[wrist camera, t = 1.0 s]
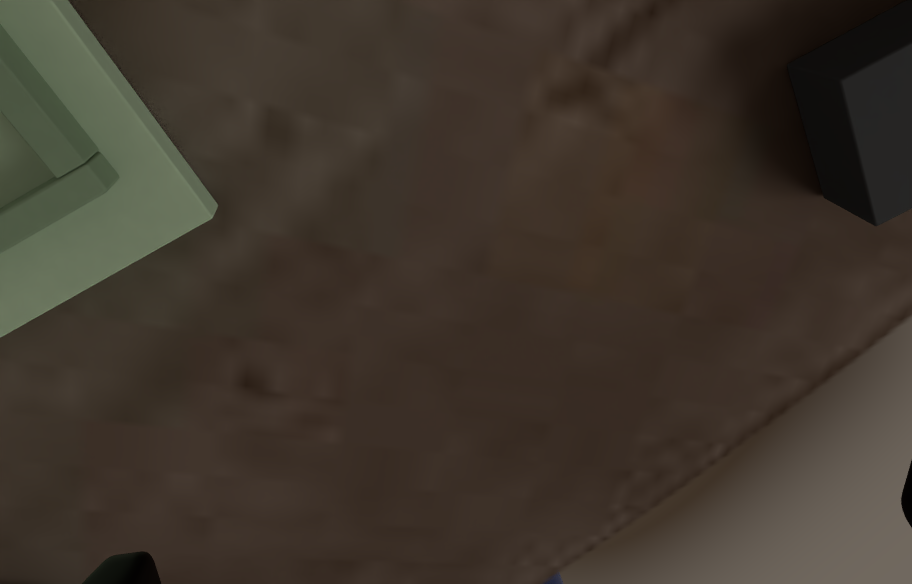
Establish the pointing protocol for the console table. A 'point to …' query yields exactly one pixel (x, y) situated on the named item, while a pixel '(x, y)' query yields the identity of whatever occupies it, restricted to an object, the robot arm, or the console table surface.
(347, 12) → the console table surface
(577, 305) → the console table surface
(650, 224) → the console table surface
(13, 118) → the base pad
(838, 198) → the black rectangular block
